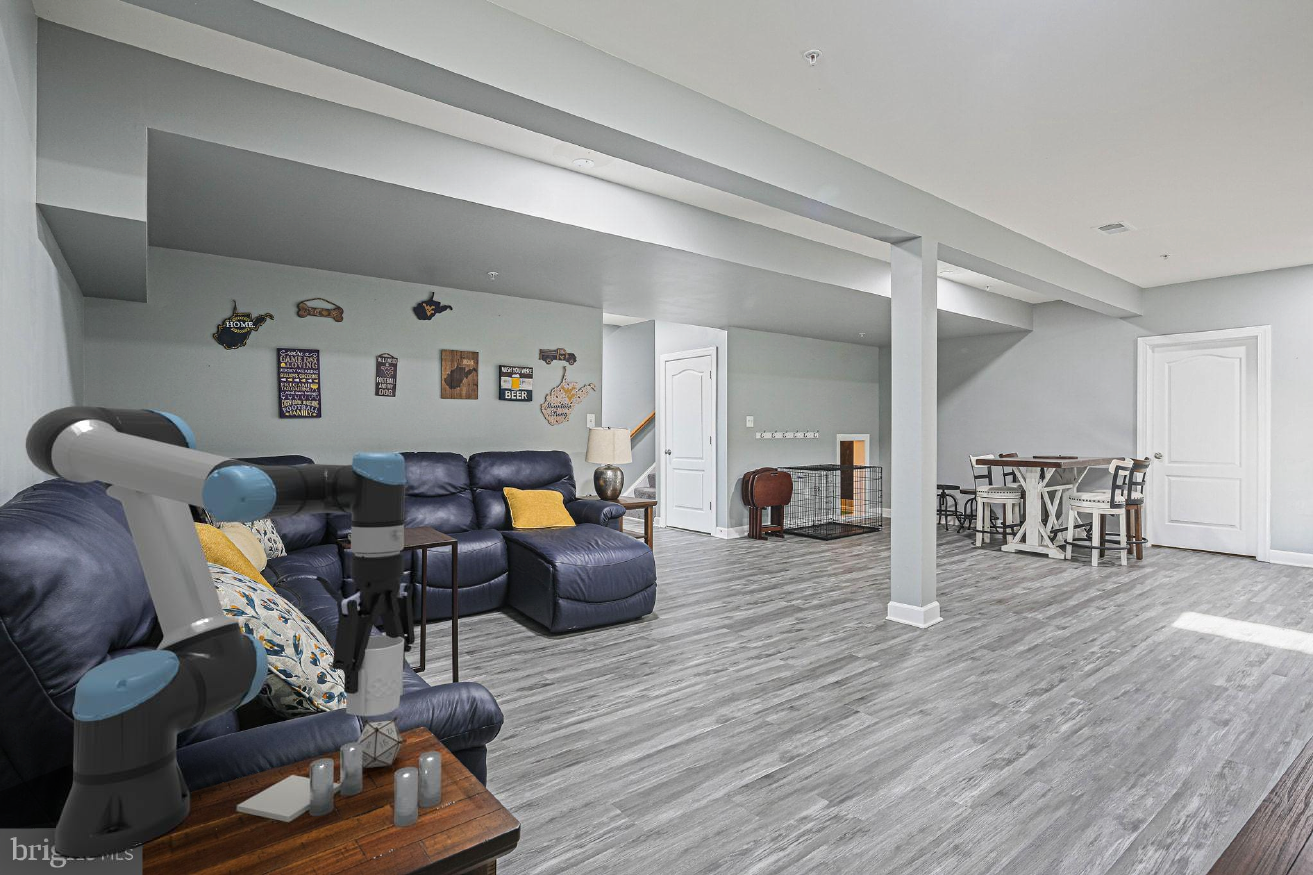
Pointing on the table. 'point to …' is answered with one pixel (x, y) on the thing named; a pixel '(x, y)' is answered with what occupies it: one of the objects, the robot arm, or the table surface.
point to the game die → (380, 743)
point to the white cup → (383, 674)
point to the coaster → (282, 799)
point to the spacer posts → (353, 783)
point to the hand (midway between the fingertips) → (375, 703)
